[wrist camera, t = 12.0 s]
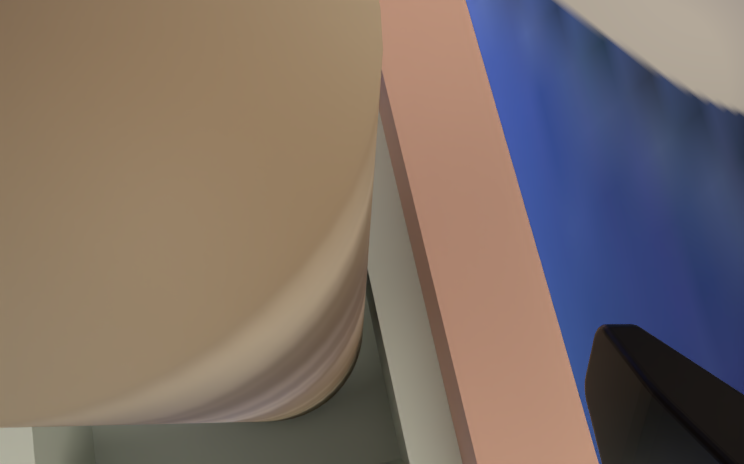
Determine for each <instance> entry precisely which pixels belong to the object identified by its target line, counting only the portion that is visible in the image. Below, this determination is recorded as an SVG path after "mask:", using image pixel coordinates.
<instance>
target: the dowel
mask: <svg viewBox="0 0 744 464" xmlns="http://www.w3.org/2000/svg"><path fill="white" fill-rule="evenodd" d="M382 56H383V41H382V26H381V10H380V3H379V0H0V428H14V427H57V426H99V425H142V424H184V423H226V422H269V421H283V420H288V419H293V418H296V417H299V416H302V415H305V414H307V413H309V412H311V411H313V410H315V409H317V408H318V407H320V406H321V405H323V404H325V403H326V402H327V401H328V400H329V399H331V398H332V397H333V396H334V395H335V394H336V393H337V392H338V391H339V390H340V389H341V387H342V386H343V385H344V384H345V382H346V381H347V379H348V378H349V376H350V375H351V373H352V371H353V369H354V367H355V365H356V362H357V359H358V356H359V354H360V349H361V344H362V336H363V323H364V309H365V295H366V280H367V266H368V252H369V238H370V224H371V210H372V196H373V182H374V168H375V154H376V140H377V126H378V112H379V98H380V84H381V70H382Z"/></svg>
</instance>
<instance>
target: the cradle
mask: <svg viewBox="0 0 744 464" xmlns="http://www.w3.org/2000/svg"><path fill="white" fill-rule="evenodd" d="M0 464H463V463H462V459H461V454H460V450H459V446H458V442H457V437H456V433H455V429H454V425H453V421H452V416H451V412H450V408H449V404H448V399H447V395H446V391H445V387H444V383H443V378H442V374H441V370H440V366H439V361H438V357H437V353H436V349H435V344H434V340H433V336H432V332H431V328H430V323H429V319H428V315H427V311H426V306H425V302H424V298H423V294H422V290H421V285H420V281H419V277H418V273H417V268H416V264H415V260H414V256H413V252H412V247H411V243H410V239H409V235H408V230H407V226H406V222H405V218H404V214H403V209H402V205H401V201H400V197H399V192H398V188H397V184H396V180H395V176H394V171H393V167H392V163H391V159H390V154H389V150H388V146H387V142H386V138H385V133H384V129H383V125H382V121H381V116H380V112H378V126H377V140H376V154H375V168H374V182H373V196H372V210H371V224H370V238H369V252H368V266H367V280H366V295H365V309H364V323H363V336H362V344H361V349H360V354H359V356H358V359H357V362H356V365H355V367H354V369H353V371H352V373H351V375H350V376H349V378H348V379H347V381H346V382H345V384H344V385H343V386H342V387H341V389H340V390H339V391H338V392H337V393H336V394H335V395H334V396H333V397H332V398H331V399H329V400H328V401H327V402H326V403H325V404H323V405H321V406H320V407H318V408H317V409H315V410H313V411H311V412H309V413H307V414H305V415H302V416H299V417H296V418H293V419H288V420H283V421H269V422H226V423H184V424H142V425H99V426H57V427H14V428H0Z"/></svg>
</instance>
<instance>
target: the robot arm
mask: <svg viewBox="0 0 744 464" xmlns="http://www.w3.org/2000/svg"><path fill="white" fill-rule="evenodd" d="M585 395H586V401H587V405H588V409H589V413H590V417H591V421H592V425H593V429H594V433H595V437H596V441H597V445H598V449H599V453H600V457H601V461H602V464H744V395H743V394H742V393H740V392H739V391H737V390H736V389H734V388H732V387H731V386H729V385H728V384H726V383H725V382H723V381H722V380H720V379H719V378H717V377H716V376H714V375H712V374H711V373H709V372H708V371H706V370H705V369H703V368H702V367H700V366H699V365H697V364H696V363H694V362H693V361H691V360H689V359H688V358H686V357H685V356H683V355H682V354H680V353H679V352H677V351H676V350H674V349H673V348H671V347H669V346H668V345H666V344H665V343H663V342H662V341H660V340H659V339H657V338H656V337H654V336H653V335H651V334H649V333H648V332H646V331H645V330H643V329H642V328H640V327H638V326H637V325H633V324H605V325H602V326H601V327H599V328H598V330H597V331H596V333H595V337H594V341H593V346H592V350H591V355H590V359H589V364H588V369H587V373H586V378H585Z"/></svg>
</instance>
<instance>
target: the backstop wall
mask: <svg viewBox="0 0 744 464" xmlns="http://www.w3.org/2000/svg"><path fill="white" fill-rule="evenodd" d="M379 3H380V10H381V26H382V41H383V56H382V70H381V84H380V98H379V112H380V116H381V121H382V125H383V129H384V133H385V138H386V142H387V146H388V150H389V154H390V159H391V163H392V167H393V171H394V176H395V180H396V184H397V188H398V192H399V197H400V201H401V205H402V209H403V214H404V218H405V222H406V226H407V230H408V235H409V239H410V243H411V247H412V252H413V256H414V260H415V264H416V268H417V273H418V277H419V281H420V285H421V290H422V294H423V298H424V302H425V306H426V311H427V315H428V319H429V323H430V328H431V332H432V336H433V340H434V344H435V349H436V353H437V357H438V361H439V366H440V370H441V374H442V378H443V383H444V387H445V391H446V395H447V399H448V404H449V408H450V412H451V416H452V421H453V425H454V429H455V433H456V437H457V442H458V446H459V450H460V454H461V459H462V463H463V464H599V463H598V460H597V456H596V453H595V449H594V446H593V442H592V439H591V436H590V432H589V429H588V425H587V422H586V418H585V415H584V411H583V408H582V404H581V401H580V397H579V394H578V390H577V387H576V383H575V380H574V376H573V373H572V369H571V366H570V362H569V359H568V356H567V352H566V349H565V345H564V342H563V338H562V335H561V331H560V328H559V324H558V321H557V317H556V314H555V310H554V307H553V303H552V300H551V296H550V293H549V289H548V286H547V282H546V279H545V276H544V272H543V269H542V265H541V262H540V258H539V255H538V251H537V248H536V244H535V241H534V237H533V234H532V230H531V227H530V223H529V220H528V216H527V213H526V209H525V206H524V202H523V199H522V196H521V192H520V189H519V185H518V182H517V178H516V175H515V171H514V168H513V164H512V161H511V157H510V154H509V150H508V147H507V143H506V140H505V136H504V133H503V129H502V126H501V122H500V119H499V116H498V112H497V109H496V105H495V102H494V98H493V95H492V91H491V88H490V84H489V81H488V77H487V74H486V70H485V67H484V63H483V60H482V56H481V53H480V49H479V46H478V42H477V39H476V36H475V32H474V29H473V25H472V22H471V18H470V15H469V11H468V8H467V4H466V1H465V0H379Z"/></svg>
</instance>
